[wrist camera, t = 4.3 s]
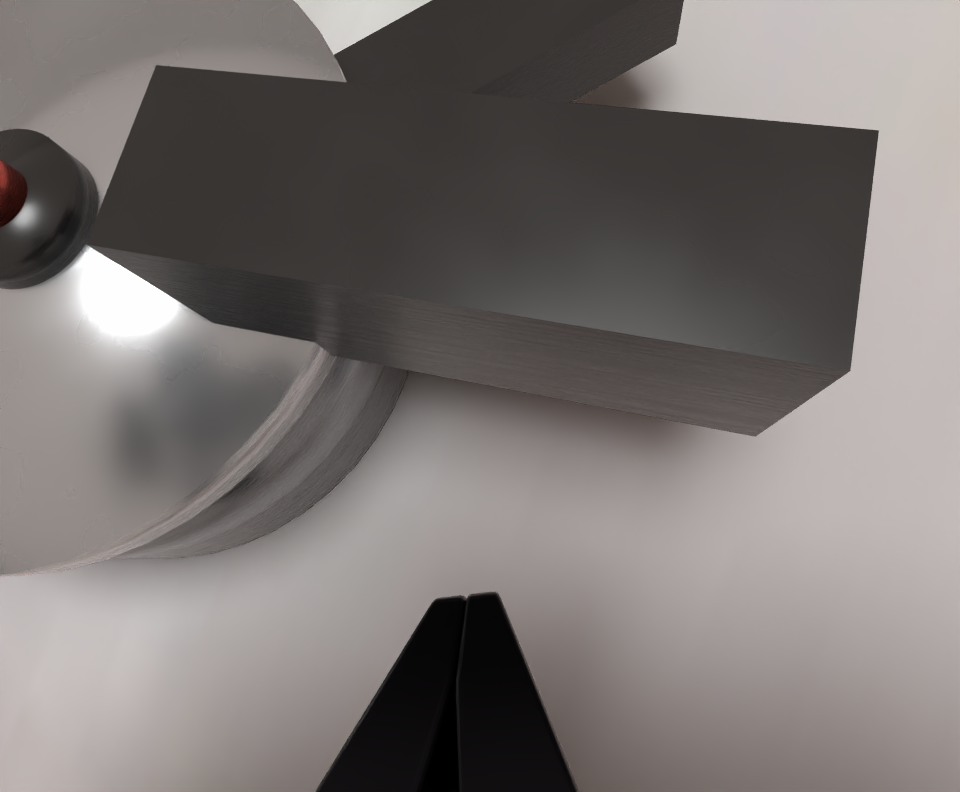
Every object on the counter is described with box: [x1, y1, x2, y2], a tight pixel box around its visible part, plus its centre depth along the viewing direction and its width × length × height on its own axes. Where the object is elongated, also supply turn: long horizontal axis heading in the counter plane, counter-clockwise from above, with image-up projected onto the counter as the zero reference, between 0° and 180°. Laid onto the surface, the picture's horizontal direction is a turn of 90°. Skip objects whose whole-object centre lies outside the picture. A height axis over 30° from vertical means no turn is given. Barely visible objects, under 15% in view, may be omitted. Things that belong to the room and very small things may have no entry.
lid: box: [0, 0, 879, 577], centre depth 11 cm, size 22×15×4 cm, turn 77°
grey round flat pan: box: [109, 0, 684, 559], centre depth 17 cm, size 25×14×4 cm, turn 117°
